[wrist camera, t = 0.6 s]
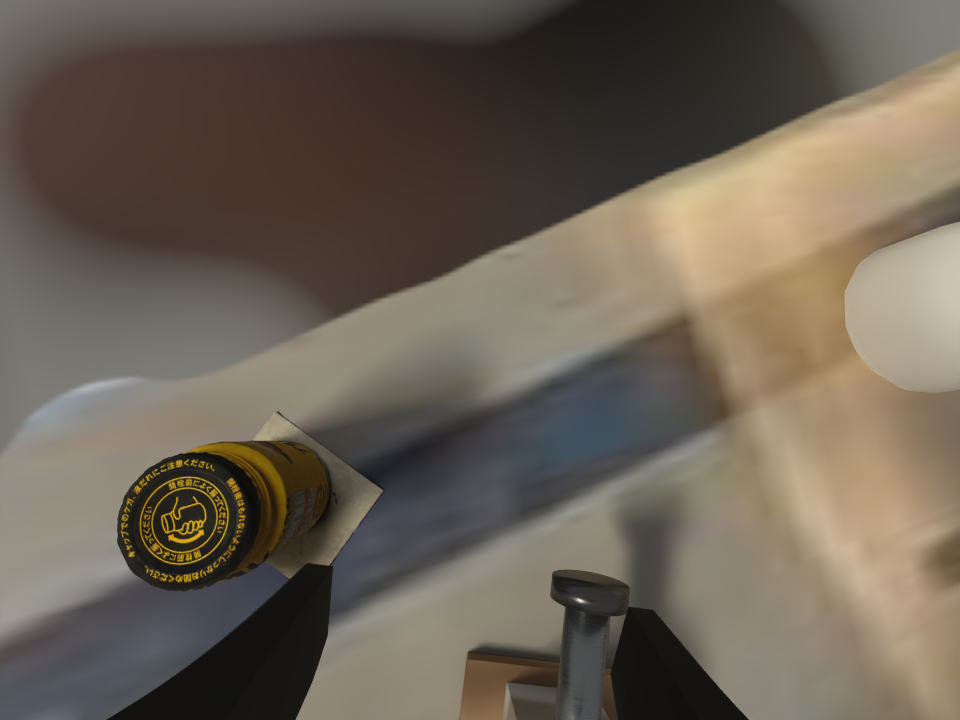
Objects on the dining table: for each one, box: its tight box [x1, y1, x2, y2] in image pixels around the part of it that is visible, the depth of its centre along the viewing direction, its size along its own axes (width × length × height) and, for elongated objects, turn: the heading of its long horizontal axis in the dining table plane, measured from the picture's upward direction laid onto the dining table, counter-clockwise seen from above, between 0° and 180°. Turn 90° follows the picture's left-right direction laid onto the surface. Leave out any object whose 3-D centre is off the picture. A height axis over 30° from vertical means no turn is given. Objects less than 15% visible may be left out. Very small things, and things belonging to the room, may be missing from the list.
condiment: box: [117, 412, 383, 591], centre depth 25 cm, size 7×8×12 cm
